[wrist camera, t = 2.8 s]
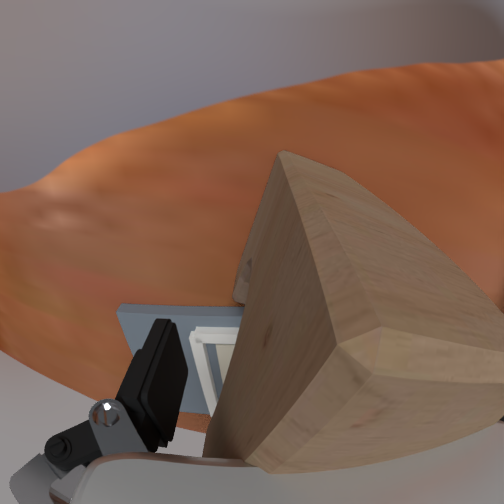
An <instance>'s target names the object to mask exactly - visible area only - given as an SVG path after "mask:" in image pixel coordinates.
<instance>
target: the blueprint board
mask: <svg viewBox="0 0 504 504" xmlns="http://www.w3.org/2000/svg"><path fill="white" fill-rule="evenodd" d="M243 311H244V307H207V306H166V305H141V304H121V305H120V307H119V308H118V310H117V311H116V313H117V316H118V319H119V322H120V324H121V327H122V329H123V332H124V335H125V337H126V340H127V342H128V345H129V347H130V350H131V352H132V354H133V357H134V355H135V353H136V351H137V350H138V349H142V347H143V345H144V343H145V340H146V338H147V336H148V334H149V332H150V329H151V327H152V325H153V323H154V321H155V319H157V318H163V319H171V321H172V322H174V323H176V326H177V330H178V334H179V337H180V341H181V345H182V348H183V352H184V356H185V359H186V363H187V366H188V378H187V382H186V386H185V390H184V394H183V398H182V402H181V406H180V411H181V412H190V413H200V414H210V416H211V417H212V416H213V413H214V411H215V408H216V405H217V403H218V400H219V397H220V394H221V391H222V387H223V384H224V381H225V377H226V374H227V371H228V367H229V364H230V361H231V357H232V354H233V350H234V347H235V343H236V339H237V335H238V331H239V327H240V323H241V319H242V315H243Z"/></svg>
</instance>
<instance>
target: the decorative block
mask: <svg viewBox="0 0 504 504" xmlns="http://www.w3.org/2000/svg"><path fill="white" fill-rule="evenodd" d="M232 297H233V299H234V301H235V302H238V303H242V304H245V307H244V311H243V315H242V319H241V323H240V327H239V331H238V335H237V339H236V343H235V347H234V350H233V354H232V357H231V361H230V364H229V367H228V371H227V374H226V377H225V381H224V384H223V387H222V391H221V394H220V397H219V400H218V403H217V405H216V408H215V411H214V413H213V416H212V418H211V421H210V424H209V426H208V429H207V432H206V438H205V444H204V449H203V455H202V457H205V458H222V459H242V460H243V462H245V463H247V464H250V465H253V466H256V467H259V468H260V469H262V470H264V471H265V472H267V473H268V474H297V473H312V472H323V471H332V470H340V469H347V468H354V467H360V466H365V465H371V464H376V463H381V462H385V461H390V460H394V459H398V458H402V457H406V456H410V455H413V454H417V453H420V452H424V451H427V450H430V449H433V448H436V447H439V446H442V445H445V444H448V443H451V442H453V441H456V440H459V439H461V438H464V437H466V436H469V435H471V434H474V433H476V432H478V431H481V430H483V429H485V428H487V427H490V426H492V425H494V424H495V423H496V422H498V421H499V420H500V419H501V418H502V417H503V416H504V314H503V313H502V312H501V311H500V310H499V309H498V307H497V306H496V305H495V304H494V303H493V302H492V301H491V300H490V299H489V298H488V296H487V295H486V294H485V293H484V292H483V291H482V290H481V289H480V288H479V287H478V286H477V285H476V284H475V283H474V282H473V281H472V280H471V279H470V278H469V277H468V276H467V275H466V274H465V273H464V272H463V271H462V270H461V269H460V268H459V267H458V266H457V265H456V264H455V263H454V262H453V261H452V260H451V259H450V258H449V257H448V256H447V255H445V254H444V253H443V252H442V251H441V250H440V249H439V248H438V247H437V246H436V245H435V244H433V243H432V242H431V241H430V240H429V239H428V238H427V237H425V236H424V235H423V234H422V233H421V232H420V231H419V230H417V229H416V228H415V227H414V226H413V225H411V224H410V223H409V222H408V221H407V220H405V219H404V218H403V217H402V216H400V215H399V214H398V213H397V212H396V211H394V210H393V209H392V208H390V207H389V206H388V205H387V204H385V203H384V202H383V201H381V200H380V199H379V198H377V197H376V196H375V195H373V194H372V193H371V192H369V191H368V190H367V189H365V188H364V187H363V186H361V185H360V184H358V183H357V182H356V181H354V180H353V179H351V178H350V177H349V176H347V175H346V174H344V173H343V172H341V171H338V170H336V169H333V168H331V167H328V166H326V165H323V164H321V163H318V162H315V161H313V160H310V159H307V158H305V157H302V156H299V155H297V154H294V153H291V152H288V151H285V150H283V151H281V152H279V153H278V154H277V157H276V160H275V163H274V165H273V168H272V171H271V174H270V177H269V180H268V183H267V185H266V188H265V191H264V194H263V197H262V200H261V203H260V206H259V208H258V211H257V214H256V217H255V220H254V223H253V226H252V229H251V232H250V235H249V238H248V240H247V243H246V246H245V249H244V252H243V255H242V258H241V261H240V264H239V267H238V270H237V275H236V280H235V285H234V290H233V295H232Z"/></svg>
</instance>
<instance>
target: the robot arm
mask: <svg viewBox="0 0 504 504" xmlns="http://www.w3.org/2000/svg"><path fill="white" fill-rule="evenodd" d="M187 378H188V366H187V363H186V359H185V356H184V352H183V348H182V345H181V341H180V337H179V334H178V330H177V326H176V323H174V322H172V321H171V319H163V318H157V319H155V321H154V323H153V325H152V327H151V329H150V332H149V334H148V336H147V338H146V340H145V343H144V345H143V347H142V349H138V350H137V351H136V353H135V355H134V357H133V359H132V361H131V364H130V366H129V368H128V370H127V372H126V375H125V377H124V379H123V382H122V384H121V386H120V388H119V391H118V393H117V395H116V398H115V400H114V399H104V400H100V401H99V402H97V403H95V404H94V406H92V408H91V410H90V411H89V420H87V421H85V422H83V423H81V424H78V425H77V426H74V427H72V428H70V429H68V430H65V431H63V432H61V433H58V434H56V435H54V436H52V437H51V438H50V439H49V440H48V441H47V442H46V445H45V449H44V451H45V453H44V454H43V455H41V454H40V453H39V454H38V455H37V456H35V457H34V458H33V459H32V460H30V461H29V462H28V463H27V464H26V465H24V466H23V467H22V468H21V469H20V470H18V471H17V472H16V473H15V474H13V476H12V477H11V479H10V489H11V491H12V493H13V495H14V497H15V498H16V500H17V501H18V502H19V504H504V416H503V417H502V418H501V419H500V420H499V421H498V422H496V423H495V424H494V425H492V426H490V427H487V428H485V429H483V430H481V431H478V432H476V433H474V434H471V435H469V436H466V437H464V438H461V439H459V440H456V441H453V442H451V443H448V444H445V445H442V446H439V447H436V448H433V449H430V450H427V451H424V452H420V453H417V454H413V455H410V456H406V457H402V458H398V459H394V460H390V461H385V462H381V463H376V464H371V465H365V466H360V467H354V468H347V469H340V470H332V471H323V472H312V473H297V474H268V473H267V472H265V471H264V470H262V469H260V468H259V467H256V466H253V465H250V464H247V463H245V462H243V460H242V459H222V458H205V457H192V456H182V455H173V454H162V453H155V452H156V451H157V449H158V446H159V447H165V448H167V445H168V441H170V442H171V441H172V440H173V436H174V432H175V427H176V423H177V419H178V415H179V411H180V406H181V402H182V398H183V394H184V390H185V386H186V382H187ZM71 498H72V500H71ZM70 501H71V503H70Z"/></svg>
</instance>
